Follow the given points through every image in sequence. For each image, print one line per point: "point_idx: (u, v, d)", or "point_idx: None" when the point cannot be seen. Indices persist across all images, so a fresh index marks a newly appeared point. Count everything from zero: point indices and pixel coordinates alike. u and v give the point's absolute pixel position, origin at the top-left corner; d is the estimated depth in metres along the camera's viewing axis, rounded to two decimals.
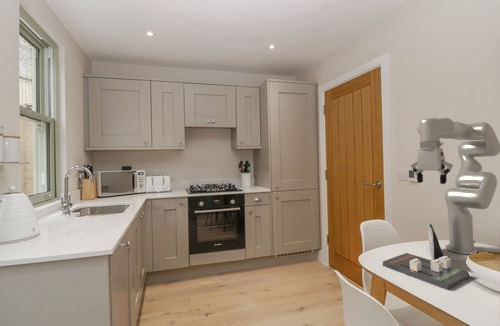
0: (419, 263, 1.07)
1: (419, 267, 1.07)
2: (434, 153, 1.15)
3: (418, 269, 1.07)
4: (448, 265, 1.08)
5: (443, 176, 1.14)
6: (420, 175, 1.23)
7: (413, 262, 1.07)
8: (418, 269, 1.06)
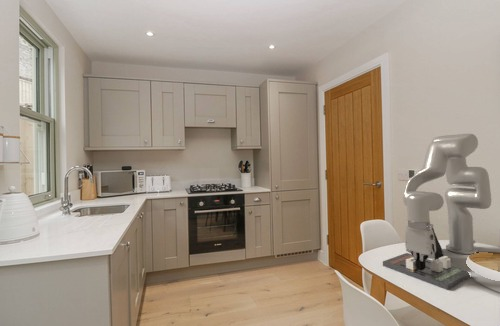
0: (415, 262, 1.08)
1: (415, 266, 1.08)
2: (423, 235, 1.02)
3: (414, 268, 1.08)
4: (448, 265, 1.08)
5: (422, 262, 1.05)
6: None
7: (409, 261, 1.09)
8: (414, 267, 1.08)
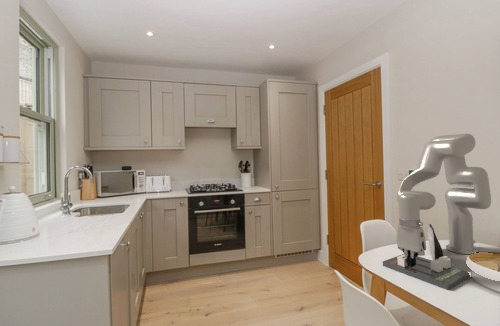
0: (406, 259, 1.12)
1: (406, 263, 1.12)
2: (414, 233, 1.06)
3: (405, 265, 1.11)
4: (448, 265, 1.08)
5: (412, 259, 1.08)
6: None
7: (400, 258, 1.12)
8: (405, 264, 1.11)
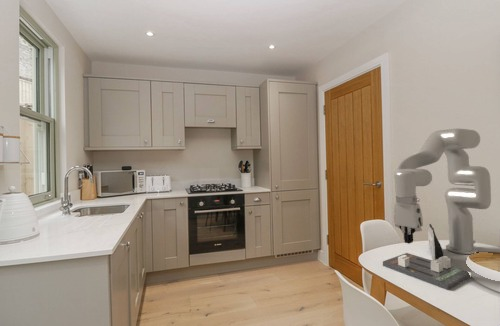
0: (407, 259, 1.11)
1: (407, 263, 1.11)
2: (410, 209, 1.07)
3: (406, 265, 1.11)
4: (448, 265, 1.08)
5: (409, 236, 1.09)
6: None
7: (401, 258, 1.12)
8: (405, 264, 1.11)
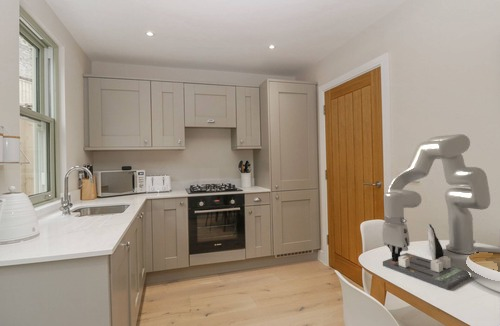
0: (407, 259, 1.11)
1: (407, 263, 1.11)
2: (398, 230, 1.12)
3: (407, 265, 1.11)
4: (448, 265, 1.08)
5: (397, 254, 1.14)
6: None
7: (401, 258, 1.12)
8: (406, 265, 1.11)
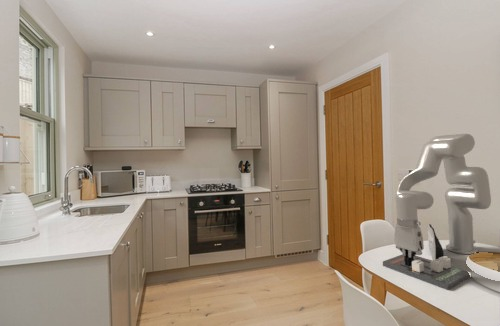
0: (421, 264, 1.06)
1: (421, 268, 1.06)
2: (411, 233, 1.07)
3: (421, 270, 1.06)
4: (448, 265, 1.08)
5: (410, 258, 1.09)
6: None
7: (415, 263, 1.07)
8: (420, 269, 1.06)
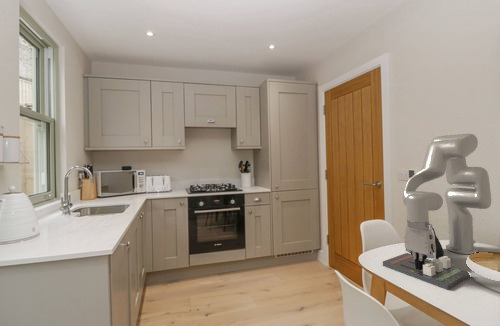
0: (433, 267, 1.02)
1: (433, 272, 1.02)
2: (422, 235, 1.03)
3: (432, 274, 1.02)
4: (448, 265, 1.08)
5: (421, 262, 1.05)
6: None
7: (427, 266, 1.03)
8: (432, 273, 1.02)
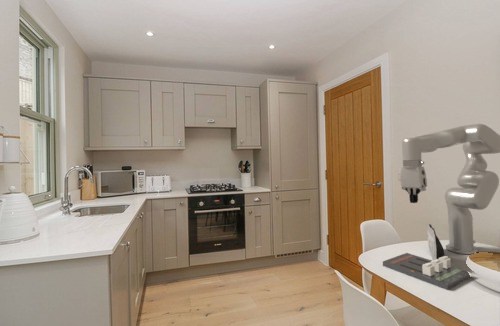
0: (432, 267, 1.02)
1: (432, 271, 1.02)
2: (416, 171, 1.19)
3: (432, 274, 1.02)
4: (448, 265, 1.08)
5: (415, 196, 1.22)
6: None
7: (426, 266, 1.03)
8: (431, 273, 1.02)
